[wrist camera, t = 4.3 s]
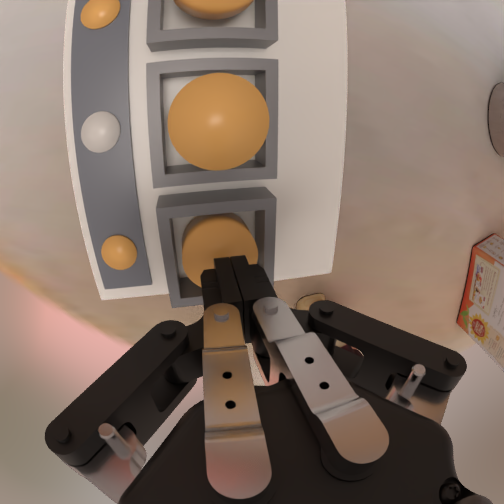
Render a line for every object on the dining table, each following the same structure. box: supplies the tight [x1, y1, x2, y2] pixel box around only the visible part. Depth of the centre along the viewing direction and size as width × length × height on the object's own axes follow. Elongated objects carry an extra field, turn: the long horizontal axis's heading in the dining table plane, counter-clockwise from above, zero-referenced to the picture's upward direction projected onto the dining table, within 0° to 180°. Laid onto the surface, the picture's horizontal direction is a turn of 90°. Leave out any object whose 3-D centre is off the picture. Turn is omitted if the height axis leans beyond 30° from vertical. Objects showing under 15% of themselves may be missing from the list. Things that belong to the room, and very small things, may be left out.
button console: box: [63, 0, 348, 308], centre depth 15 cm, size 16×21×5 cm
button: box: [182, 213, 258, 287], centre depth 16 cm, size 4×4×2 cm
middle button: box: [168, 73, 269, 171], centre depth 11 cm, size 4×4×2 cm
